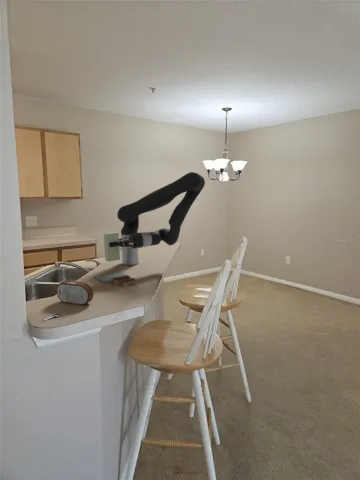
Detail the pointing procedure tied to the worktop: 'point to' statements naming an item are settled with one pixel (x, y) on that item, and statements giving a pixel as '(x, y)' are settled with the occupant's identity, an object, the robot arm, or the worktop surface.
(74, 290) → the tin
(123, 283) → the offcut top
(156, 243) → the robot arm
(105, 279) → the mat
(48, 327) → the worktop surface
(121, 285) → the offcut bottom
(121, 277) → the rack
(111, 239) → the sage green upright pillar
